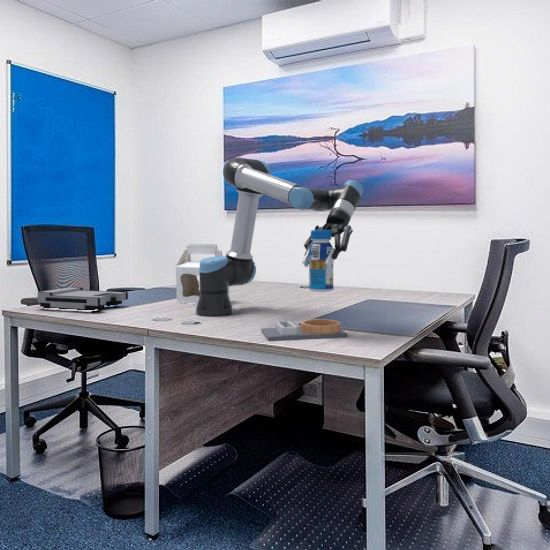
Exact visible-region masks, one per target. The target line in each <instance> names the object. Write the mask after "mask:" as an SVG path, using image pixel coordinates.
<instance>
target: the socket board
mask: <svg viewBox="0 0 550 550" xmlns="http://www.w3.org/2000/svg"><path fill="white" fill-rule="evenodd" d="M341 327H342V322H341V321H339V320H335V319H328V318H327V319H326V318H325V319H324V318H318V319H317V318H314V319H313V318H312V319H305V320H302V321H301V322H300V326H297V325H295V324H294V323H293V322H291V320H275V321H274V327H263V328H262V327H261V328H260V330H261V331H260V332H261V334H262V335H263V334H264V335H263V336H264V337H265V338H266V339H267V341H268V342H269V341H270V342H271V341H290V340H309V339H311V340H312V339H333V338H348V332H346V331H344V330H343V329H342V328H341Z"/></svg>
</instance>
